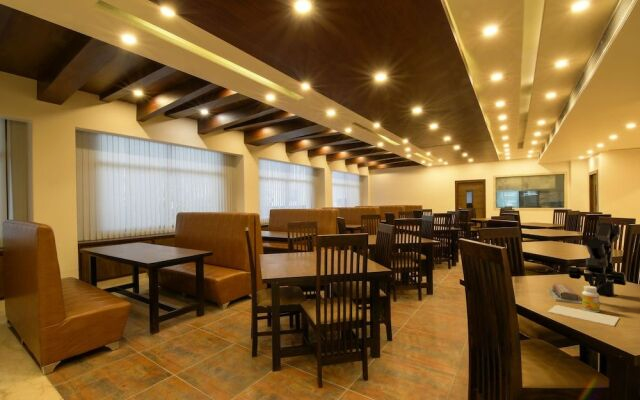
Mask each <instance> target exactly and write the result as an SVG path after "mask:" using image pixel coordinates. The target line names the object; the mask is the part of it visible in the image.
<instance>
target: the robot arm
mask: <svg viewBox="0 0 640 400" xmlns="http://www.w3.org/2000/svg"><path fill="white" fill-rule="evenodd" d="M596 232H597V233H596V235H595V236H592V238H589V239H587V240H586V241H585V245H586V249H587V253H588V254H589V257H586V258H585V269H584V270H581V268H580V267H579V266H578V267H576V266H568V267H567V270H566V271H567V274H568V277H569V278H570V279H576V280H580V279H581V278H582V276H583V279H584V281H585V282H588V284H589V286H593V287H596V288H597V291H596V292H597V293H598V294H599V296H602V297H603V296H604V297H607V298H609V297H617V296H619V295H618V294H616V293H615V285H618V286H619V285H620V286H626V285H627V277H626V274H625V273H624V272H620V271H616V270H615V267H614V265H613V263H612V260H613V252H614V244H615V242H616V241H618V240H619V238H620V235H621V234H622V229H621V227H620V225H617V224H614V223H612V222H599V223H598V225H597V228H596Z"/></svg>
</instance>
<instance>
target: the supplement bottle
mask: <svg viewBox="0 0 640 400" xmlns="http://www.w3.org/2000/svg"><path fill="white" fill-rule="evenodd" d="M581 299H582V300H581V301H582V304H581V305H582V306H581V307H582V310H584V311H589V312H594V313H599V312H600V295H599V294H598V293H597V288H596V287H593V286H590V285H584V286H583V290H582V292H581Z"/></svg>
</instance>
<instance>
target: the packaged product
mask: <svg viewBox="0 0 640 400" xmlns="http://www.w3.org/2000/svg"><path fill="white" fill-rule="evenodd" d="M548 292H549V294H550V295H551V297H552V298H553V300H554V301H555V302H560V303H567V304H568V303H569V304H578V305H582V300H581V299H580V298H579V295H578V294H577V292H575V291H574V289H572V288H571V287H570V286H569V285H567V284H560V283H559V284H558V283H554V284H552V289H551V288H548Z"/></svg>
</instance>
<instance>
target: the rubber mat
mask: <svg viewBox="0 0 640 400" xmlns="http://www.w3.org/2000/svg"><path fill="white" fill-rule="evenodd" d="M547 313H550V314H554V315H559V316H562V317H563V316H565V317H568V318H573V319H578V320H582V321H586V322H590V323H597V324H600V325H605V326H610V327H615V326H616V324H617V323H618V321H619V320H620V316H619V317H618V316H614V315H609V314H605V313H604V314H603V313H599V312H590V311H586V310H584V309H578V308H573V307H568V306H563V305H559V304H555V305H554V306H552V307H551V308H550V309H549V310H547Z"/></svg>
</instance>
